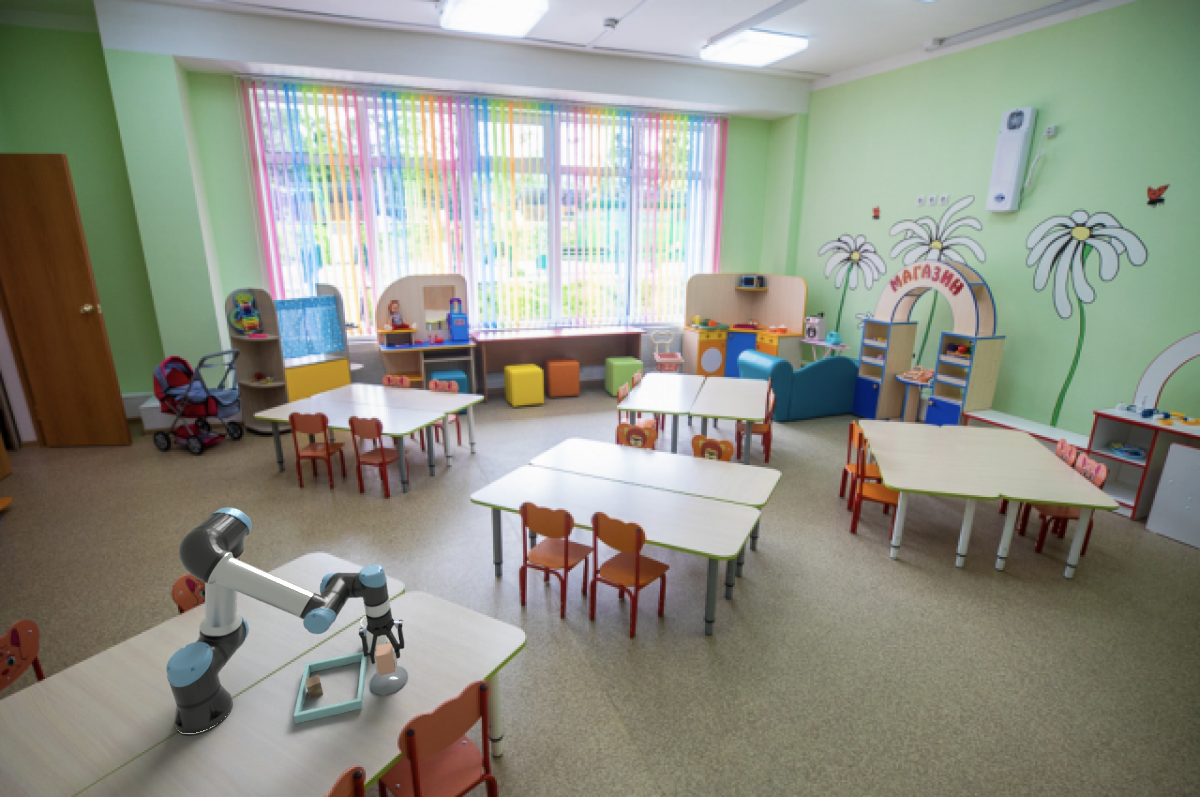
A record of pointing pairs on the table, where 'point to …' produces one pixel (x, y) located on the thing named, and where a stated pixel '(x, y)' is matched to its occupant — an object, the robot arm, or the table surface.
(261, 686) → the table surface
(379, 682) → the grey dome puck
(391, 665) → the painted box
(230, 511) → the robot arm
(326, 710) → the corral
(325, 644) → the table surface
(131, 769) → the table surface
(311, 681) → the walnut block
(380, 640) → the cup
